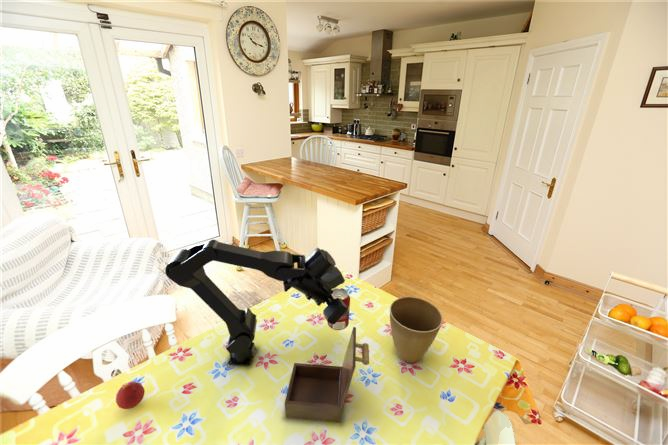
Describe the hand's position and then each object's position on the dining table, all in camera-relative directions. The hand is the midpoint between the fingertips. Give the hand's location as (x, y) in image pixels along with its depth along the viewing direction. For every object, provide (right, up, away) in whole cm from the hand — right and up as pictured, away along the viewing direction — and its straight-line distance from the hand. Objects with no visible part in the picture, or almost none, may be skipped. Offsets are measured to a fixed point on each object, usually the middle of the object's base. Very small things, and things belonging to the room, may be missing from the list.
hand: (342, 306), depth 90 cm
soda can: (-1, -6, +2) cm, 7 cm away
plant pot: (+21, -15, +1) cm, 25 cm away
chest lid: (0, -9, -19) cm, 21 cm away
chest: (-7, -20, -13) cm, 25 cm away
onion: (-54, -21, -16) cm, 60 cm away
